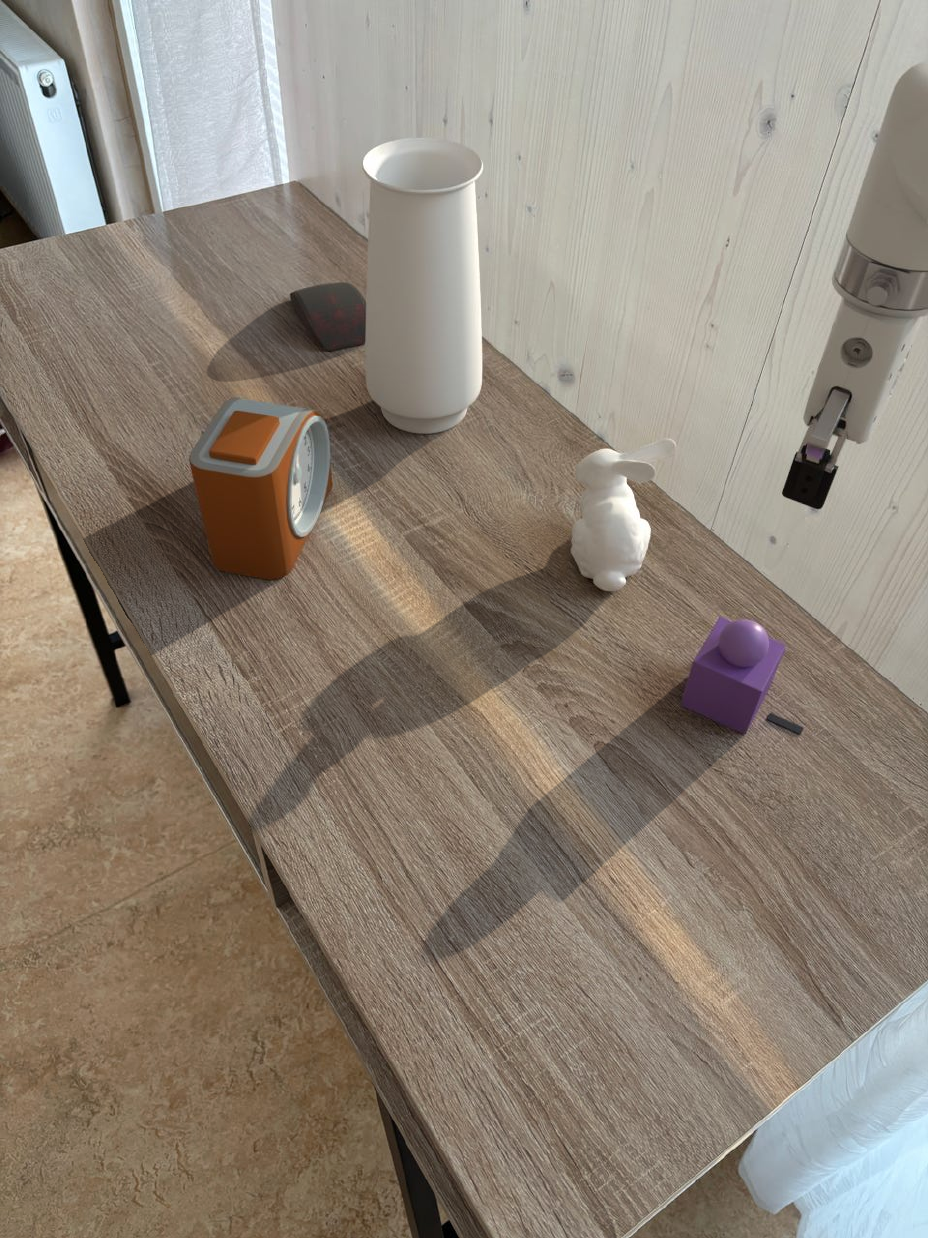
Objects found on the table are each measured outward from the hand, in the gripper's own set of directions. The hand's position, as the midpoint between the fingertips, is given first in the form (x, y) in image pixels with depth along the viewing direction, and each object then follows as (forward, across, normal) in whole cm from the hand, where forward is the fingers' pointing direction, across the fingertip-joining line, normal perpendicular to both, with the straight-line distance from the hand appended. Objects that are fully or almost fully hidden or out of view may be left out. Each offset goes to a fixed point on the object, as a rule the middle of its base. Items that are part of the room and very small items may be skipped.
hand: (821, 466), depth 81 cm
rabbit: (+19, +1, +17) cm, 25 cm away
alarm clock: (+19, -14, +47) cm, 53 cm away
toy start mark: (+19, -10, -6) cm, 22 cm away
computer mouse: (+20, +21, +64) cm, 71 cm away
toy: (+19, -10, 0) cm, 21 cm away
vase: (+20, +11, +45) cm, 50 cm away
